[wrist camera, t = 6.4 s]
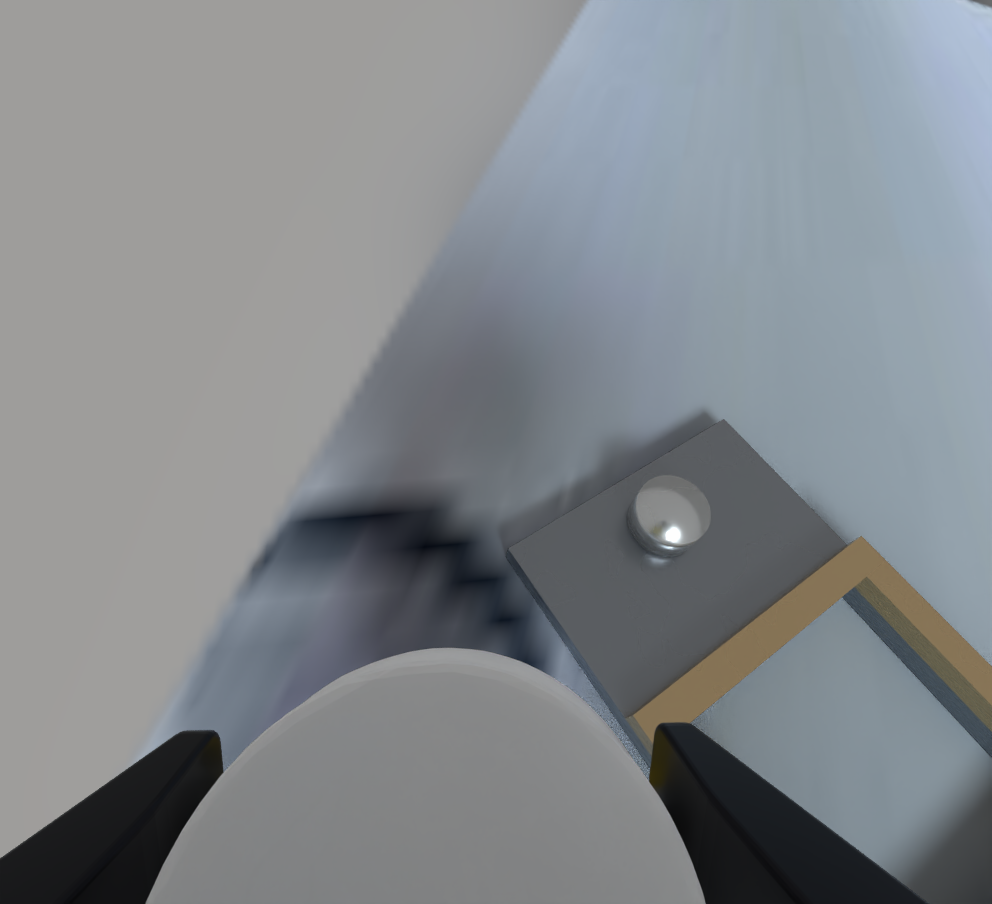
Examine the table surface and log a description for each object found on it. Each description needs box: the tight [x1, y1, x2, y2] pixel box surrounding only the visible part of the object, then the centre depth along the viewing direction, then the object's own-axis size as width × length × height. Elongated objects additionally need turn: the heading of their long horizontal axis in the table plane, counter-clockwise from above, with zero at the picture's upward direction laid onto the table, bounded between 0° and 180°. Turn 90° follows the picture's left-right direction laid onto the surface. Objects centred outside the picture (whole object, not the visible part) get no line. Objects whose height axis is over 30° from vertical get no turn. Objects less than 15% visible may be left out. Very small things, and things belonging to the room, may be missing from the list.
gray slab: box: [506, 419, 992, 768], centre depth 16 cm, size 22×10×2 cm, turn 33°
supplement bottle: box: [146, 648, 706, 904], centre depth 8 cm, size 5×5×10 cm
